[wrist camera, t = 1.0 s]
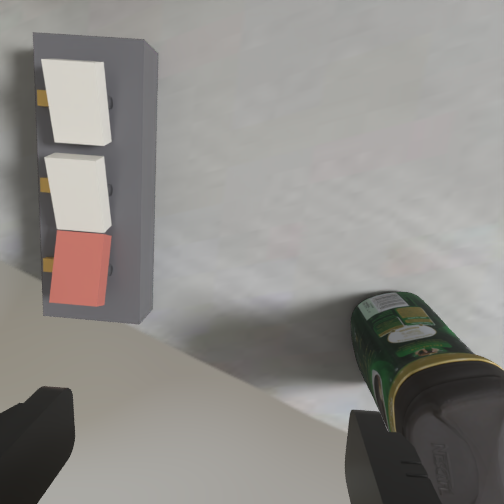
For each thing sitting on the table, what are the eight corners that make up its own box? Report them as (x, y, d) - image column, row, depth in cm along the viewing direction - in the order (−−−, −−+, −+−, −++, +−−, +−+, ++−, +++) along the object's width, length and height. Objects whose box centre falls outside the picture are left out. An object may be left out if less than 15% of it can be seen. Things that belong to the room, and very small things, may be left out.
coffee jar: (439, 371, 40) (573, 536, 22) (360, 386, 41) (428, 557, 23) (424, 280, 39) (556, 379, 21) (342, 297, 39) (400, 408, 21)
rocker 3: (66, 232, 35) (56, 230, 34) (111, 235, 35) (104, 234, 33) (59, 301, 35) (48, 302, 33) (104, 305, 35) (96, 306, 33)
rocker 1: (52, 58, 31) (41, 59, 29) (103, 61, 31) (94, 62, 29) (64, 138, 34) (54, 142, 32) (111, 141, 33) (103, 146, 32)
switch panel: (59, 47, 36) (25, 28, 31) (158, 53, 36) (139, 35, 31) (65, 301, 41) (37, 319, 36) (152, 309, 41) (135, 328, 36)
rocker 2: (54, 152, 32) (44, 157, 31) (103, 156, 32) (95, 161, 31) (66, 221, 35) (57, 229, 34) (111, 225, 35) (104, 233, 33)
